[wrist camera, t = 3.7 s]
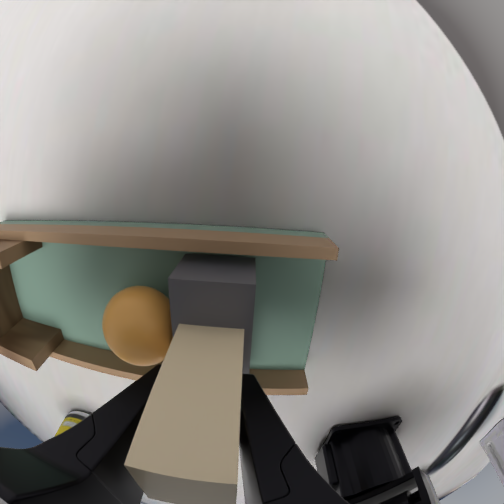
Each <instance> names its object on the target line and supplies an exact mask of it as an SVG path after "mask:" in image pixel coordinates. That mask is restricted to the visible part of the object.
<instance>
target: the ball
mask: <svg viewBox="0 0 504 504" xmlns="http://www.w3.org/2000/svg"><path fill="white" fill-rule="evenodd" d="M102 329H103V334H104V337H105V340H106V342H107V344H108V346H109V347H110V349H111V350H112V351H113V353H114V354H115V355H117V356H118V357H119V358H120V359H122V360H123V361H125V362H127V363H130V364H132V365H137V366H150V365H155V364H157V363H160V362H162V361H163V360H164V358H165V356H166V353H167V351H168V349H169V346H170V344H171V341H172V339H173V335H172V325H171V314H170V302H169V298H168V297H167V296H165V295H164V294H163V293H161V292H160V291H158V290H156V289H154V288H151V287H147V286H132V287H128V288H125V289H123V290H121V291H119V292H118V293H117V294H115V295H114V296H113V297H112V298H111V300H110V301H109V302H108V304H107V306H106V308H105V310H104V314H103V319H102Z"/></svg>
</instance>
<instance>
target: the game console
mask: <svg viewBox="0 0 504 504" xmlns="http://www.w3.org/2000/svg"><path fill="white" fill-rule="evenodd" d="M480 444H481V445H482V447H483V449H484V451H485V452H486V454H487V456H488V458H489V460H490V461H491V463H492V465H493V467H494V469H495V471H496V472H497V474H498V476H499V478H500V480H501V482H502V484H503V486H504V419H502V420H501V421H500V422H499V423H498V424H497V425H496V426H495V427H494V428H493V429H492V430H491V431H490V432H489V433H488V434H487V435H486V436H485V437H484V438H483V439H482V440H481V441H480Z"/></svg>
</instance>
